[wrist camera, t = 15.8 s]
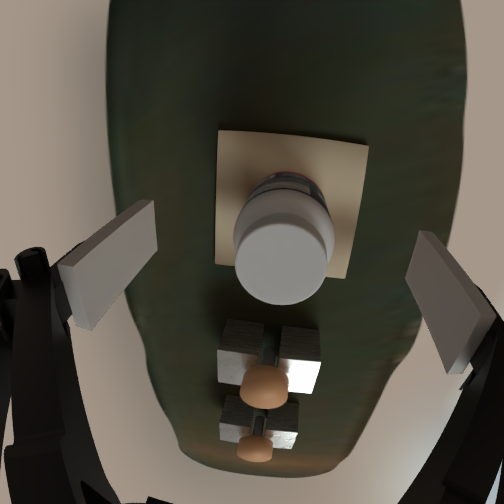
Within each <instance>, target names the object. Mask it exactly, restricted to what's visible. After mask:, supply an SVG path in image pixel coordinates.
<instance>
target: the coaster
mask: <svg viewBox="0 0 504 504" xmlns="http://www.w3.org/2000/svg"><path fill="white" fill-rule="evenodd" d="M368 149H369V146H367V145H361V144H355V143H349V142H342V141H336V140H329V139H321V138H313V137H305V136H296V135H286V134H275V133H263V132H248V131H230V130H218V151H217V181H216V229H215V264H221V265H230V266H235V255H236V252H235V248H234V242H233V232H234V227H235V223H236V220H237V218H238V215H239V213H240V211H241V210H242V208H243V206H244V204H245V203H246V201H247V199H248V197H249V195H250V194H251V192H252V190H253V189H254V187H255V186H256V185H257V183H258V182H259V181H260V180H261V179H263V178H264V177H266V176H267V175H269V174H271V173H274V172H277V171H295V172H299V173H302V174H304V175H306V176H308V177H309V178H311V179H312V180H313V181H314V182H315V183H316V184H317V185H318V186H319V188H320V189H321V191H322V193H323V195H324V198H325V201H326V204H327V208H328V211H329V214H330V217H331V220H332V224H333V227H334V235H335V244H334V250H333V254H332V257H331V259H330V261H329V263H328V265H327V273H326V276H325V277H334V278H343V279H345V276H346V272H347V267H348V263H349V258H350V254H351V249H352V244H353V239H354V234H355V229H356V224H357V219H358V213H359V208H360V202H361V196H362V190H363V184H364V177H365V171H366V164H367V157H368Z"/></svg>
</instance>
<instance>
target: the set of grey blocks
mask: <svg viewBox="0 0 504 504" xmlns="http://www.w3.org/2000/svg"><path fill="white" fill-rule="evenodd" d="M263 331H264V323H257V322H249V321H242V320H234V319H227V322H226V325H225V328H224V331H223V334H222V337H221V340H220V343H219V346H218V349H217V356H218V382H222V383H228V384H235V385H241V384H242V380H243V375H244V373H245V372H246V371H247V370H248V369H249V368H251V367H254V366H258V365H259V363H260V357H261V349H262V340H263ZM320 364H321V350H320V332H319V329H309V328H299V327H290V326H283V328H282V334H281V340H280V346H279V352H278V359H277V368H279V369H281V370H282V371H284V372H285V373H286V375H287V376H288V379H289V386H288V391H289V392H300V393H312V390H313V387H314V383H315V380H316V377H317V374H318V371H319V367H320ZM254 408H255V407H253V406H251V405H249V404H247V403H246V402H244V401H243V400H242V398H241V396H235V395H229V394H227V396H226V399H225V403H224V407H223V411H222V415H221V419H220V422H219V424H220V440H224V441H230V442H236V443H239V439H240V438H241V437H243V436H246V435H250V434H251V428H252V422H253V416H254ZM298 416H299V403H291V402H285V403H284V404H283V405H281V406H279V407H277V408H272V409H269V410H268V415H267V421H266V428H265V435H264V437H266V438H268V439H270V440H271V441H272V442H273V447H274V448H284V449H292V446H293V444H294V441H295V438H296V436H297V433H298Z"/></svg>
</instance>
